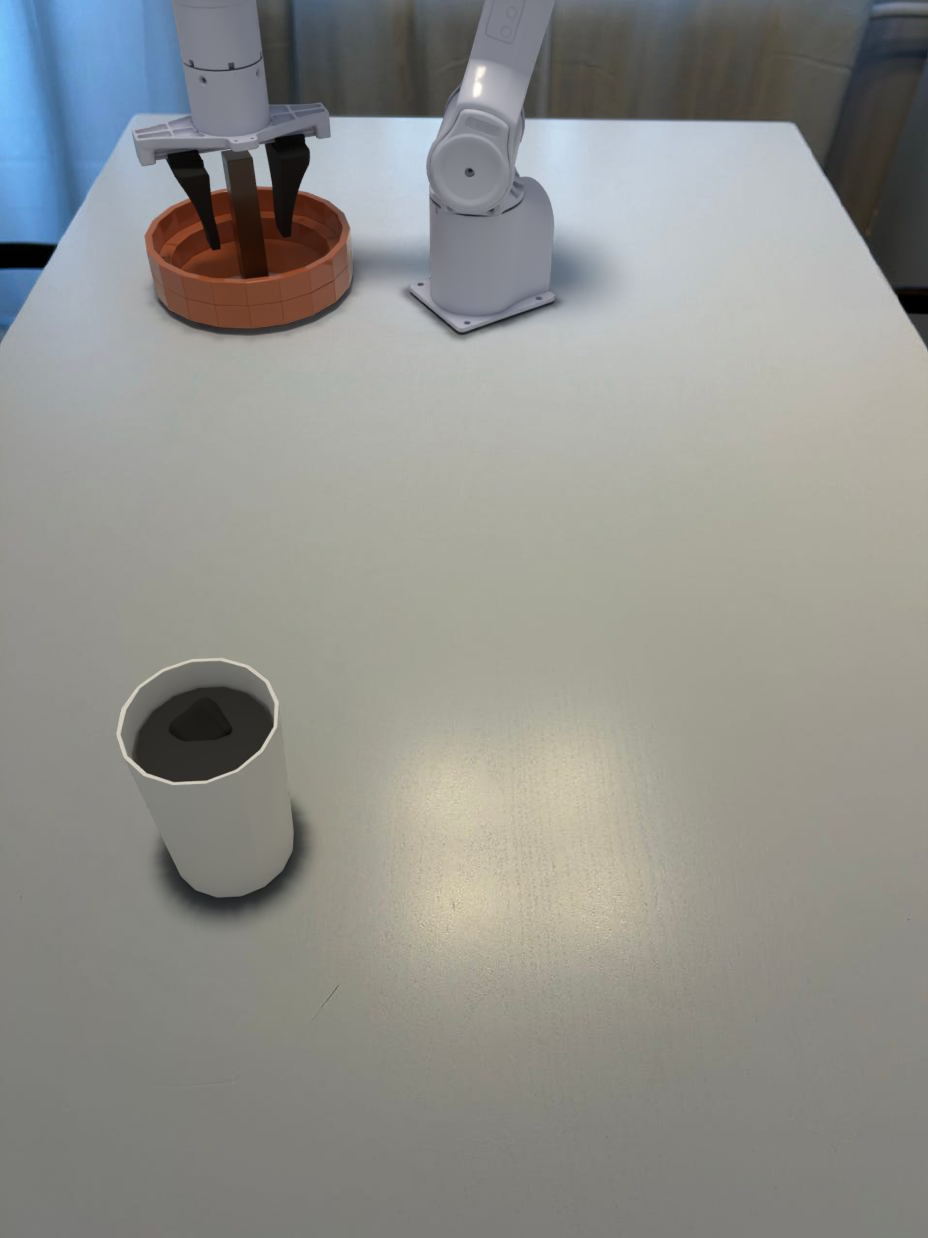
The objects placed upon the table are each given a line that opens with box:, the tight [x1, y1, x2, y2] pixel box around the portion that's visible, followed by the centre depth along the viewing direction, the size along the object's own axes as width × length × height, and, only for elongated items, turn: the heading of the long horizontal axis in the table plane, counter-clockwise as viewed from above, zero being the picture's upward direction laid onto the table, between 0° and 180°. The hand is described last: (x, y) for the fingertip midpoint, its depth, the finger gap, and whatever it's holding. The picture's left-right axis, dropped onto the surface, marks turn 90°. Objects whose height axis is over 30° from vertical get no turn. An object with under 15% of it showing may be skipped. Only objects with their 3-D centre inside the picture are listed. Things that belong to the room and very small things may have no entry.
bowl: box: [144, 185, 354, 329], centre depth 85 cm, size 16×16×4 cm
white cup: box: [115, 657, 295, 898], centre depth 46 cm, size 7×7×10 cm
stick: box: [220, 149, 269, 279], centre depth 82 cm, size 2×2×10 cm
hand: (249, 238), depth 83 cm, fingers open, 5 cm apart
